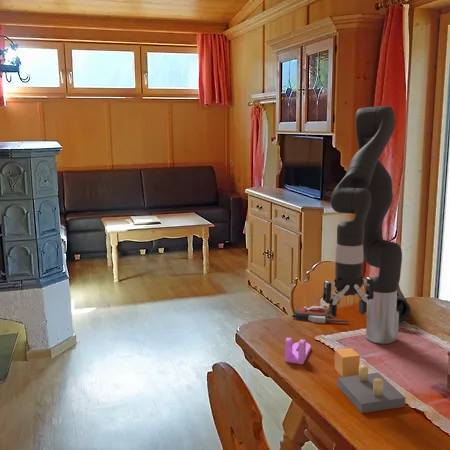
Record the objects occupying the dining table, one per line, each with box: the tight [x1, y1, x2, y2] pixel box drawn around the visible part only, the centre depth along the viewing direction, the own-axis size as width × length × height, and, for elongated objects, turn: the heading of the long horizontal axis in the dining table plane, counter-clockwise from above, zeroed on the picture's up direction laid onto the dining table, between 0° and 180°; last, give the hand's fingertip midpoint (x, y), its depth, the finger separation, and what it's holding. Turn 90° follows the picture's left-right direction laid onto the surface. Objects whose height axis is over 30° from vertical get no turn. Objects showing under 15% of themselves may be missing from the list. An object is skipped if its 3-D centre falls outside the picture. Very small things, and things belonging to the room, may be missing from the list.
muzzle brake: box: [396, 284, 411, 323], centre depth 199 cm, size 10×28×10 cm, turn 172°
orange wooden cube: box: [334, 347, 361, 377], centre depth 152 cm, size 5×5×6 cm
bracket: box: [284, 337, 312, 365], centre depth 164 cm, size 13×6×7 cm, turn 159°
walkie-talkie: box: [291, 305, 349, 324], centre depth 193 cm, size 9×4×20 cm
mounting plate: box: [337, 363, 407, 414], centre depth 139 cm, size 12×14×6 cm
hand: (347, 315), depth 149 cm, fingers open, 8 cm apart
